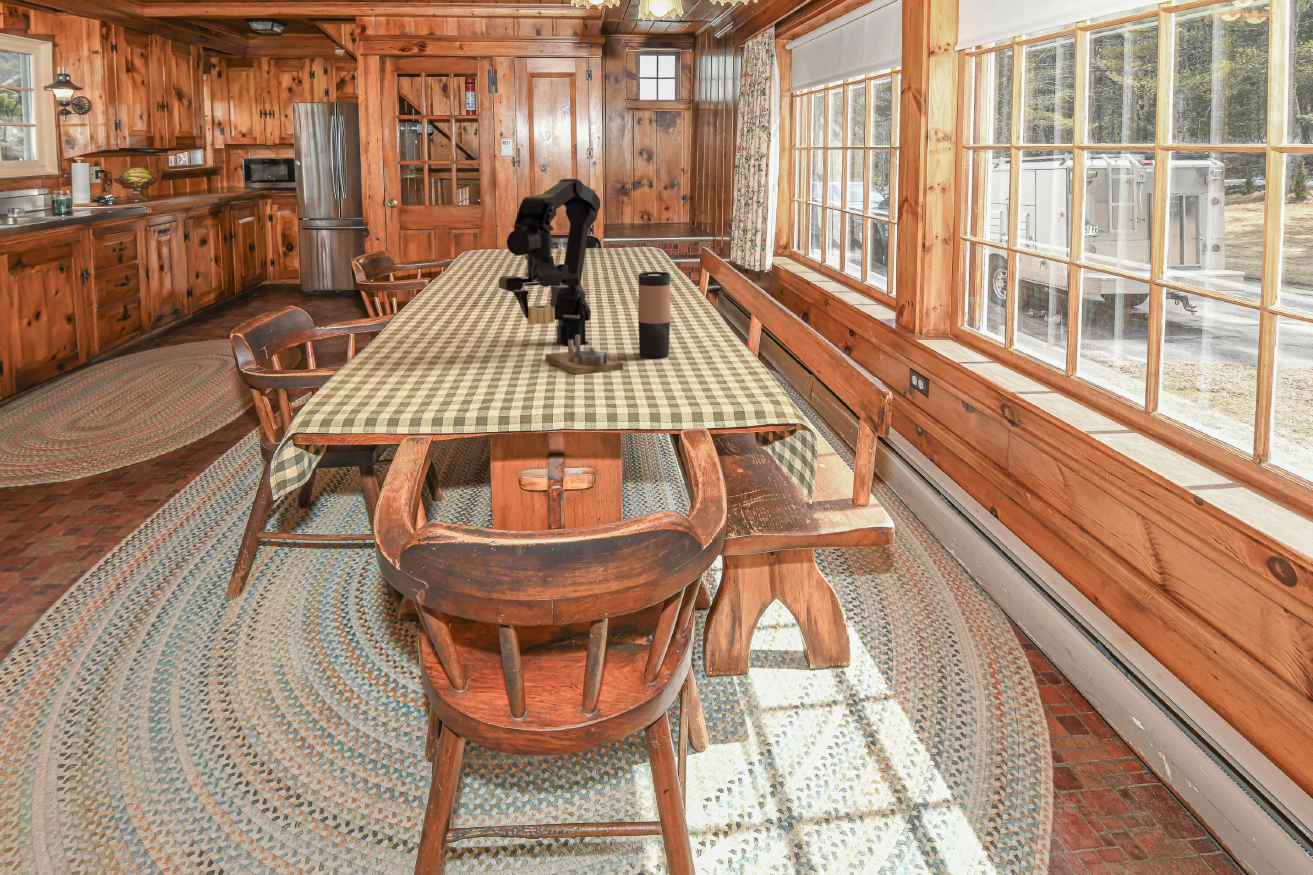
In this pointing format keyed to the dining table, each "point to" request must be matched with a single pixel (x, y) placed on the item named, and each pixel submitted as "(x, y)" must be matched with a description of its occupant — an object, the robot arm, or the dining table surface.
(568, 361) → the gear board
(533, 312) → the brass gear
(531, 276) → the robot arm
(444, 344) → the dining table surface
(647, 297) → the travel mug
